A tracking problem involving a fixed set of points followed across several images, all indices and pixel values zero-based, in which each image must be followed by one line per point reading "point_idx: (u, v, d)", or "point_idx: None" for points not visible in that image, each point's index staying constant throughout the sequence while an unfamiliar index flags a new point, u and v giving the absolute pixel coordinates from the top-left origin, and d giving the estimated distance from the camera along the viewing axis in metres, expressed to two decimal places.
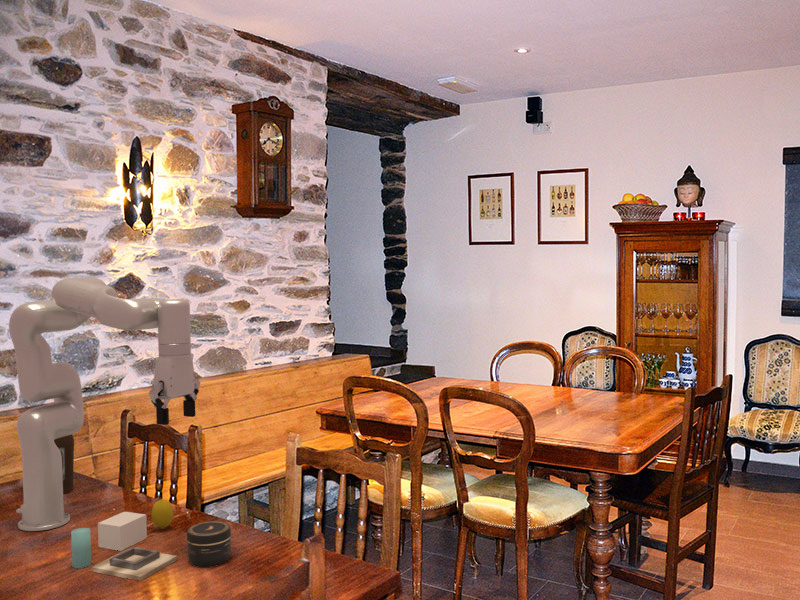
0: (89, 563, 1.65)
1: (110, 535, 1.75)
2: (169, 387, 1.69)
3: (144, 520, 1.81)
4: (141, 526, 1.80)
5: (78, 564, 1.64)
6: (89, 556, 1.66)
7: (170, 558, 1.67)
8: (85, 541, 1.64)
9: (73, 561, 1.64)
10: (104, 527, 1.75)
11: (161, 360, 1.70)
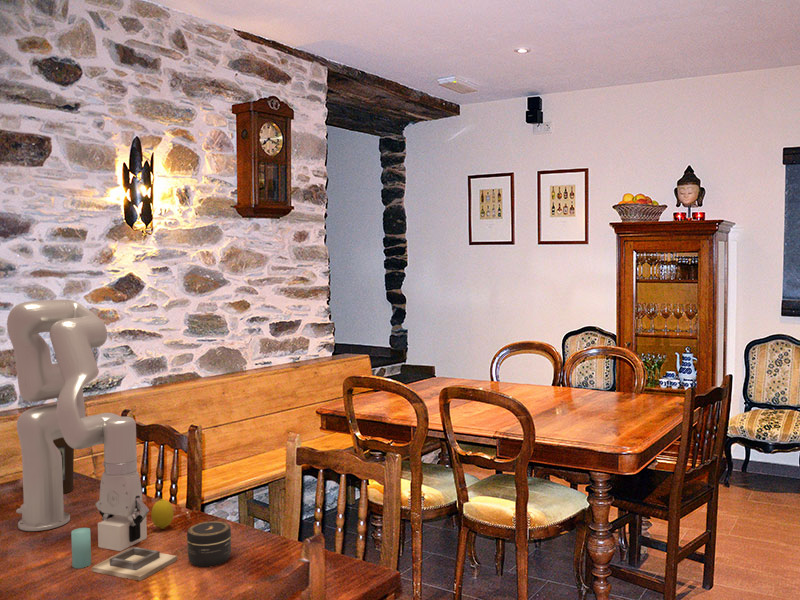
0: (89, 563, 1.65)
1: (110, 535, 1.75)
2: None
3: (144, 520, 1.81)
4: (141, 526, 1.80)
5: (78, 564, 1.64)
6: (89, 556, 1.66)
7: (170, 558, 1.67)
8: (85, 541, 1.64)
9: (73, 561, 1.64)
10: (104, 527, 1.75)
11: (134, 477, 1.76)
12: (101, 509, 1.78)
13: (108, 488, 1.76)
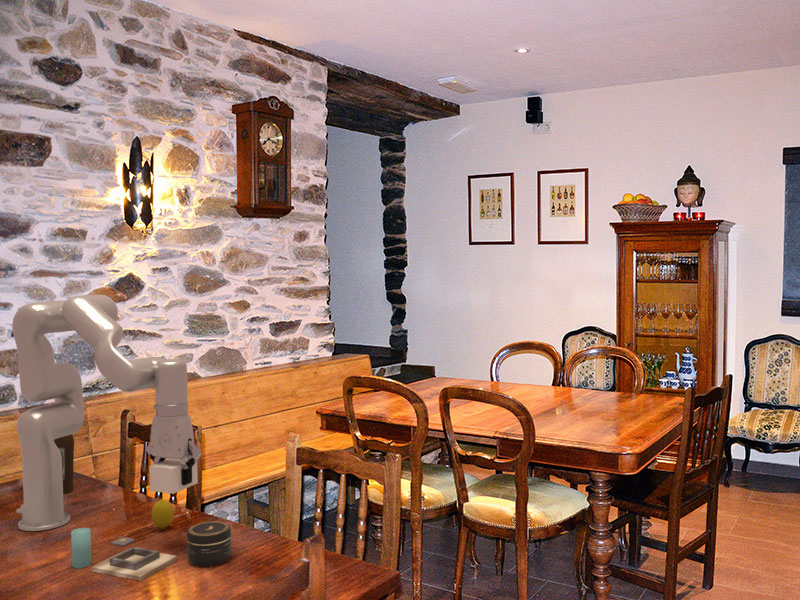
0: (89, 563, 1.65)
1: (162, 478, 1.71)
2: None
3: (195, 465, 1.78)
4: (192, 470, 1.77)
5: (78, 564, 1.64)
6: (89, 556, 1.66)
7: (170, 558, 1.67)
8: (85, 541, 1.64)
9: (73, 561, 1.64)
10: (156, 470, 1.72)
11: (186, 419, 1.73)
12: (152, 452, 1.75)
13: (160, 431, 1.73)
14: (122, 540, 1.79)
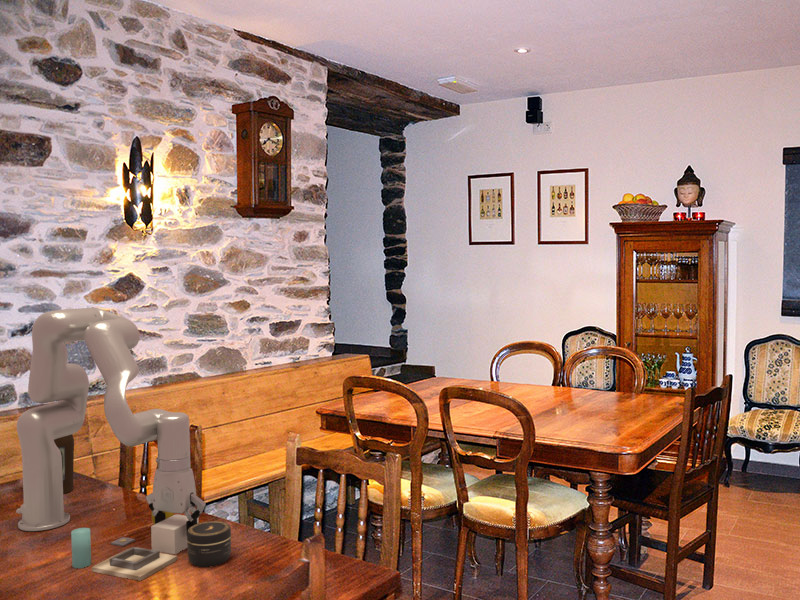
0: (89, 563, 1.65)
1: (164, 538, 1.72)
2: None
3: (197, 523, 1.79)
4: None
5: (78, 564, 1.64)
6: (89, 556, 1.66)
7: (170, 558, 1.67)
8: (85, 541, 1.64)
9: (73, 561, 1.64)
10: (158, 530, 1.73)
11: (188, 473, 1.74)
12: (154, 506, 1.75)
13: (162, 485, 1.74)
14: (122, 540, 1.79)
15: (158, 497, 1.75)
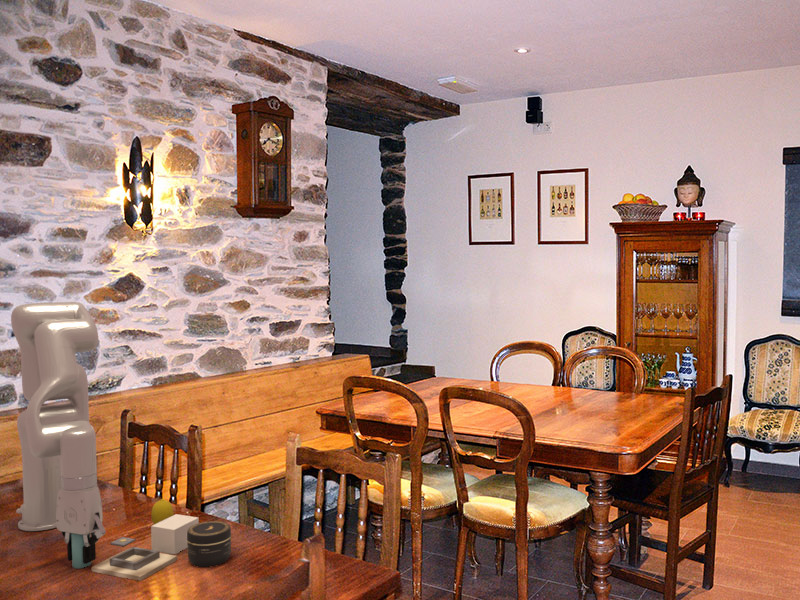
0: (89, 563, 1.65)
1: (164, 538, 1.72)
2: None
3: (197, 523, 1.79)
4: None
5: (78, 564, 1.64)
6: None
7: (170, 558, 1.67)
8: None
9: (73, 561, 1.64)
10: (158, 530, 1.73)
11: (93, 492, 1.63)
12: (58, 527, 1.64)
13: (65, 504, 1.63)
14: (122, 540, 1.79)
15: (61, 517, 1.64)
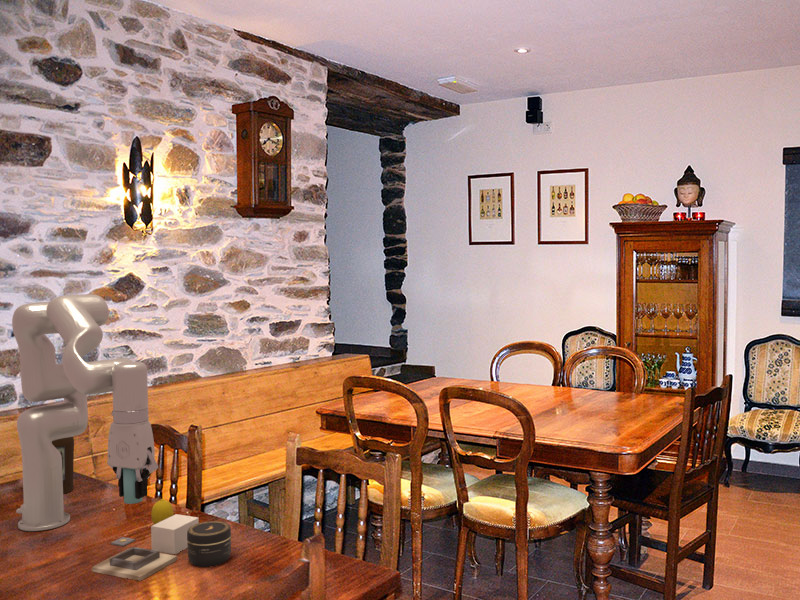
0: (141, 499, 1.64)
1: (164, 538, 1.72)
2: None
3: (197, 523, 1.79)
4: None
5: (130, 499, 1.62)
6: None
7: (170, 558, 1.67)
8: None
9: (125, 496, 1.63)
10: (158, 530, 1.73)
11: (146, 426, 1.61)
12: (110, 462, 1.63)
13: (117, 439, 1.62)
14: (122, 540, 1.79)
15: (113, 452, 1.62)
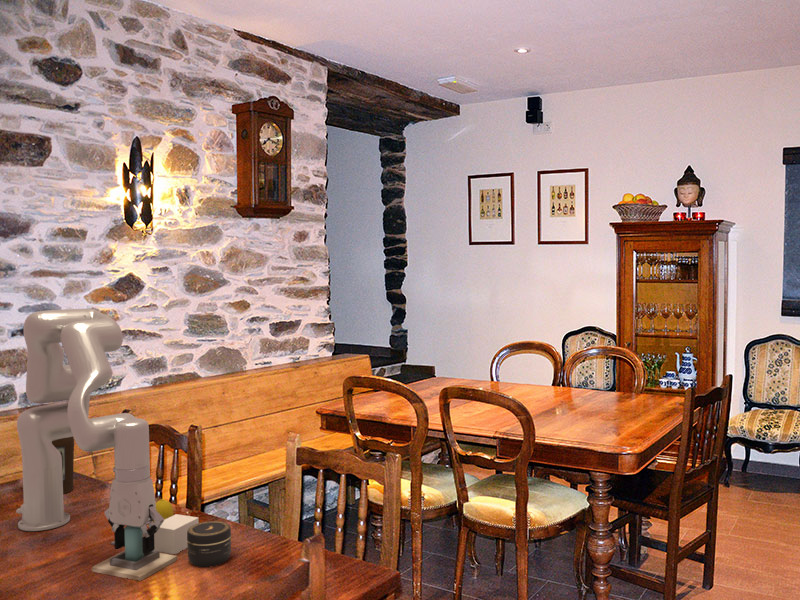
0: None
1: (164, 538, 1.72)
2: None
3: (197, 523, 1.79)
4: None
5: None
6: (142, 553, 1.65)
7: (170, 558, 1.67)
8: (138, 537, 1.63)
9: (126, 557, 1.63)
10: (158, 530, 1.73)
11: (147, 484, 1.62)
12: (111, 519, 1.63)
13: (119, 496, 1.62)
14: None
15: (115, 509, 1.63)
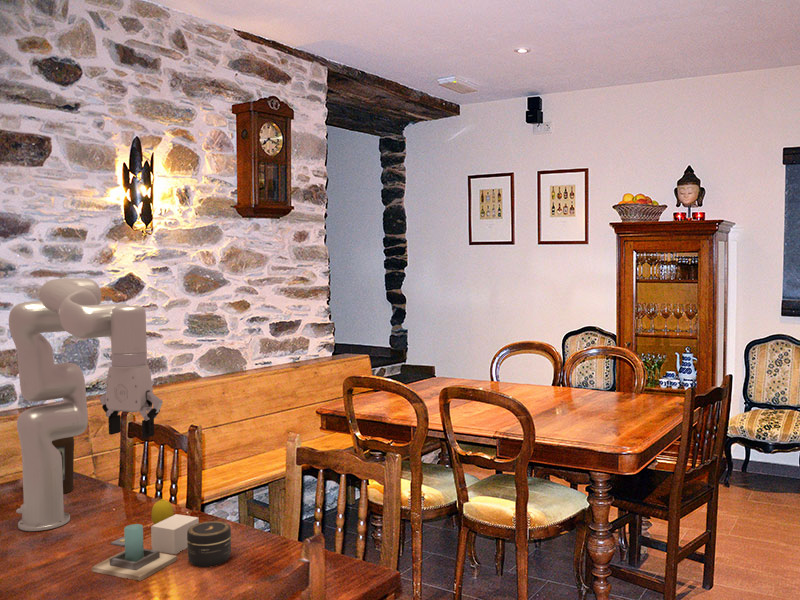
0: None
1: (164, 538, 1.72)
2: None
3: (197, 523, 1.79)
4: None
5: None
6: (142, 553, 1.65)
7: (170, 558, 1.67)
8: (138, 537, 1.63)
9: (126, 558, 1.63)
10: (158, 530, 1.73)
11: (144, 369, 1.61)
12: (108, 406, 1.62)
13: (116, 382, 1.61)
14: (122, 540, 1.79)
15: (112, 395, 1.62)
